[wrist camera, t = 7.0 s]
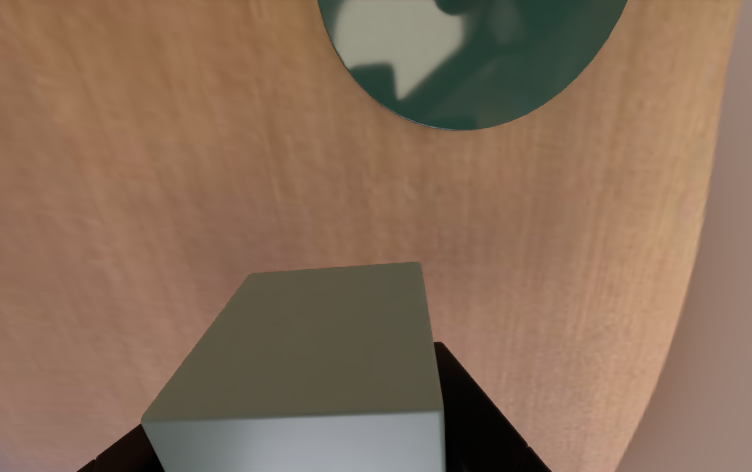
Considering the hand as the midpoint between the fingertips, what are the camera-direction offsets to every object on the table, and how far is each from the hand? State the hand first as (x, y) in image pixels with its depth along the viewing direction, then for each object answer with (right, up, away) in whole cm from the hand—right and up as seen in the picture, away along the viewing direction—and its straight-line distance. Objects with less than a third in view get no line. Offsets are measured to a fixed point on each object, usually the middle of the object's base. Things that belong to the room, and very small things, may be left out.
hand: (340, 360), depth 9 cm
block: (0, 0, +1) cm, 1 cm away
